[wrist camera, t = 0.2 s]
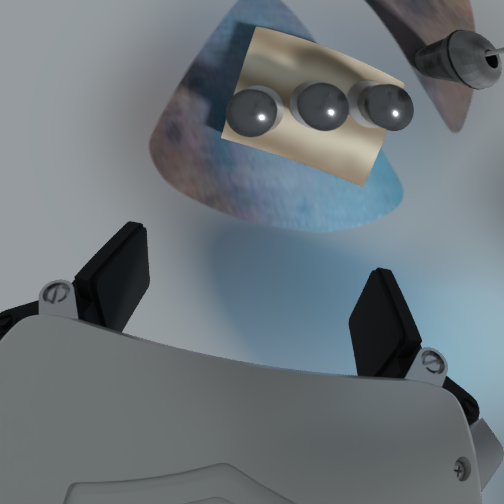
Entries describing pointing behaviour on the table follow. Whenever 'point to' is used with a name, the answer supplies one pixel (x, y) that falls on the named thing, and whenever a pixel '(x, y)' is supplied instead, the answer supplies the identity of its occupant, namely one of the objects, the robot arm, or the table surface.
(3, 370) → the robot arm
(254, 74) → the mount plate
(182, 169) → the table surface
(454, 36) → the beverage cup
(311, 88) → the knob mid
